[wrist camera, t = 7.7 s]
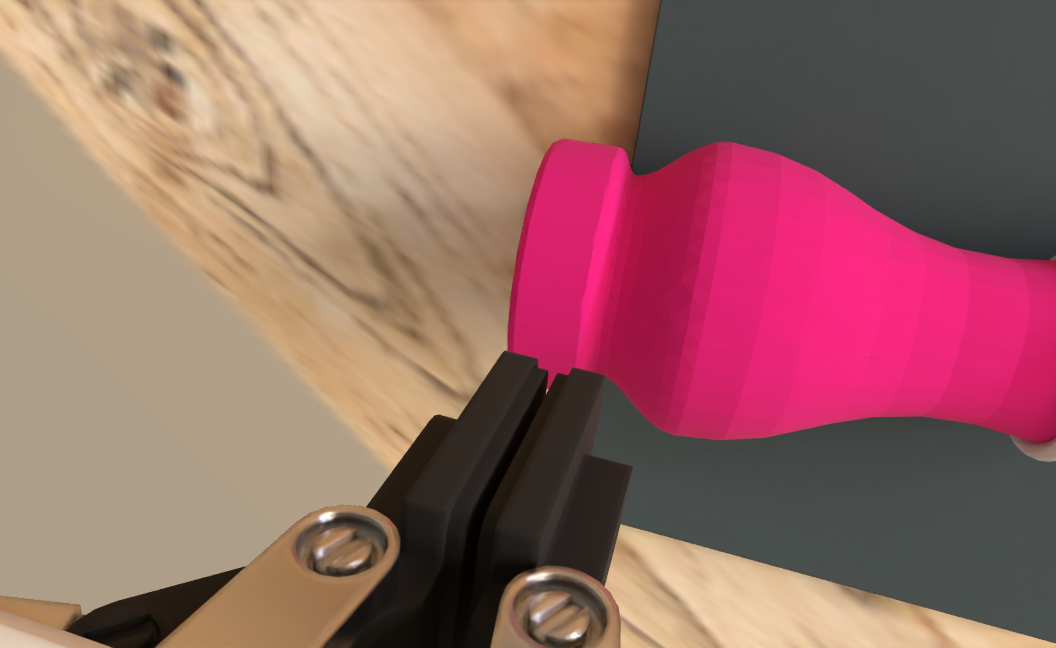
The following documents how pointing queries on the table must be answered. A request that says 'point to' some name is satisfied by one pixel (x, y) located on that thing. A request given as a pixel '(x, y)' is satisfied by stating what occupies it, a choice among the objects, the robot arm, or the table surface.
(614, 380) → the pepper mill
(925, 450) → the mat
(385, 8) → the table surface
